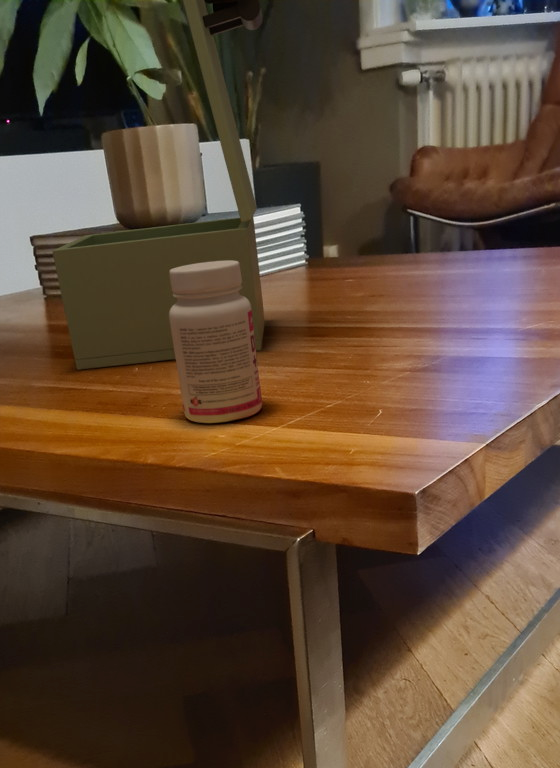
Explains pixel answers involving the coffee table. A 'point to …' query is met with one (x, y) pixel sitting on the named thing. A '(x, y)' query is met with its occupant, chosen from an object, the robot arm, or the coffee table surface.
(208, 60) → the lid
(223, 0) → the robot arm
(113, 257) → the bin
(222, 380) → the pill bottle
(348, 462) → the coffee table surface
